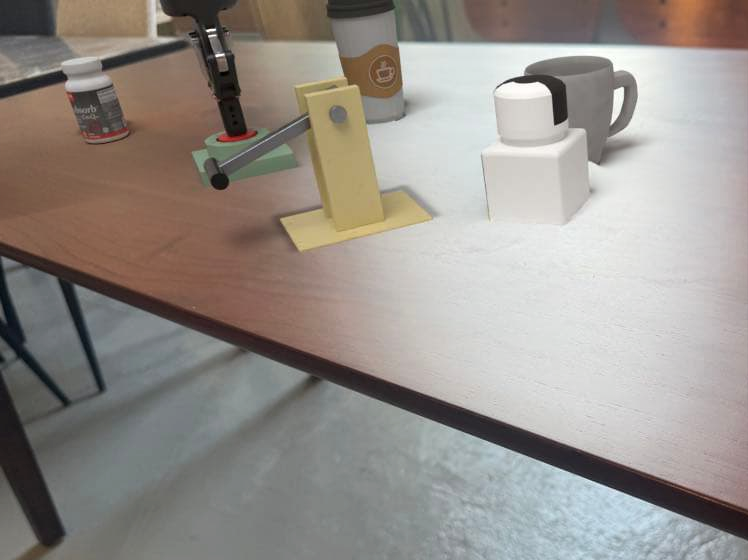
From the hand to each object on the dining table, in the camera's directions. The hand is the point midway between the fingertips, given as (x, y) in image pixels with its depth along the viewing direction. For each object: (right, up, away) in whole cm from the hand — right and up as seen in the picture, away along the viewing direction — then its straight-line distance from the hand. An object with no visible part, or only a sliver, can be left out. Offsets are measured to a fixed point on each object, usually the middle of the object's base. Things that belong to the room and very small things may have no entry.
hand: (237, 134), depth 95 cm
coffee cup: (+13, +7, +17) cm, 22 cm away
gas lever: (+12, -8, -22) cm, 26 cm away
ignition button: (0, -2, +1) cm, 2 cm away
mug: (+38, -4, -5) cm, 39 cm away
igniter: (0, -4, +2) cm, 4 cm away
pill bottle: (-25, +6, +21) cm, 33 cm away
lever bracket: (+17, -14, -16) cm, 27 cm away
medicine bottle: (+34, -13, -18) cm, 40 cm away
